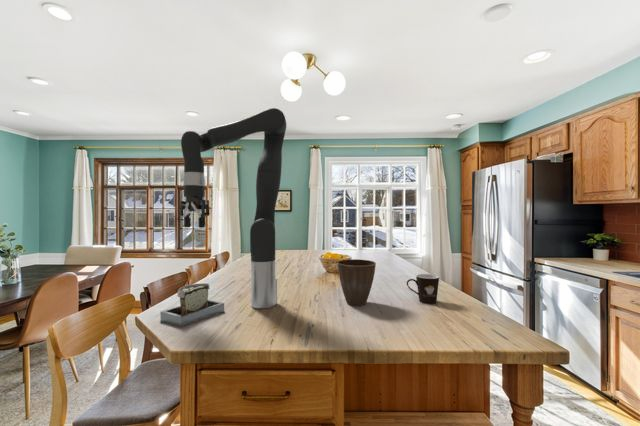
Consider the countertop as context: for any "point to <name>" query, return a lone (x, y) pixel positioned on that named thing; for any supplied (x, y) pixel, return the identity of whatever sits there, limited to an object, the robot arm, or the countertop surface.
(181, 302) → the food container
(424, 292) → the coffee mug
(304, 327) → the countertop surface
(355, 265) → the plant pot
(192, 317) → the collar
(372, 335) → the countertop surface
